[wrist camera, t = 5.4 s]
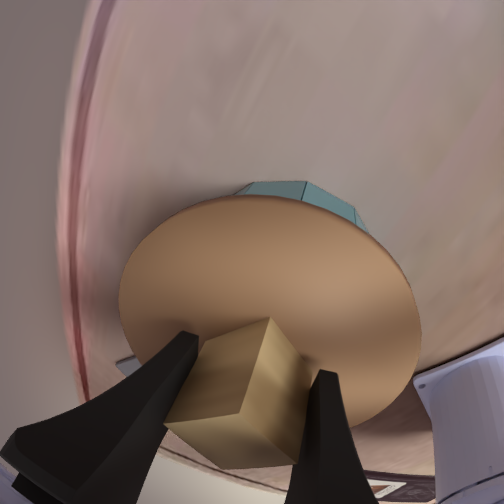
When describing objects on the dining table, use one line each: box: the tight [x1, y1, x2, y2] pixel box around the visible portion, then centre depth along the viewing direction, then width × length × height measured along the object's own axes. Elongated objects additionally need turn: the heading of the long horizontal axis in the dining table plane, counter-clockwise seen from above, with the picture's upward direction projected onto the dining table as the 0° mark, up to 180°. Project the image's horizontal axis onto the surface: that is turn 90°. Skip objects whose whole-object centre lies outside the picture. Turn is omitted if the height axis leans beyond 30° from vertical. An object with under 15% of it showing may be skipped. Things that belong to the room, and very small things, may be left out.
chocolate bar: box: [364, 470, 436, 502], centre depth 28 cm, size 9×1×18 cm
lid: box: [118, 194, 422, 470], centre depth 10 cm, size 12×12×5 cm
